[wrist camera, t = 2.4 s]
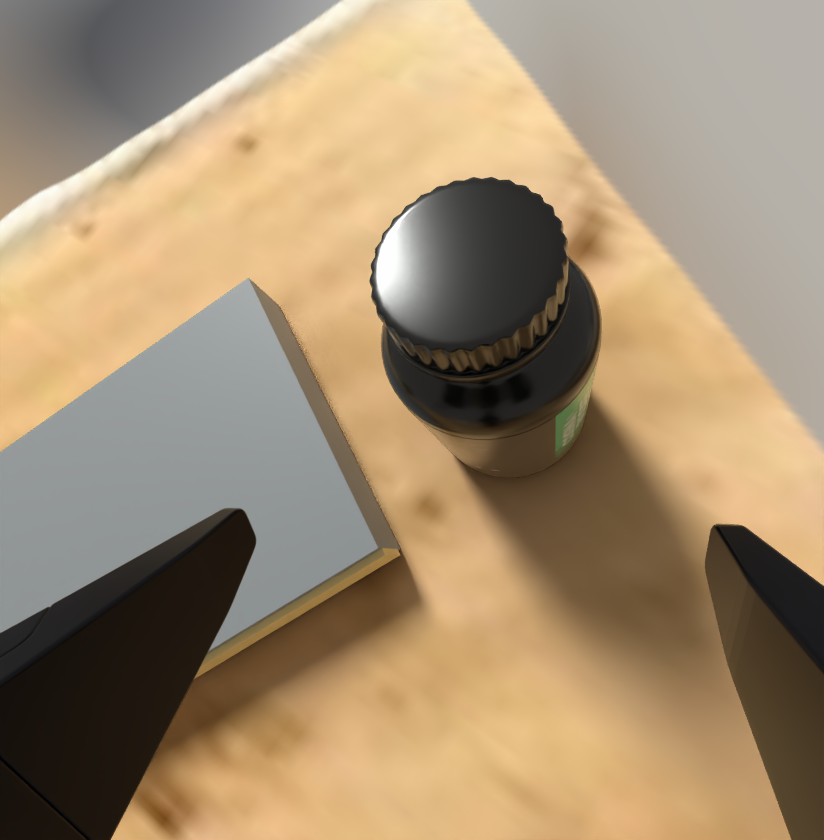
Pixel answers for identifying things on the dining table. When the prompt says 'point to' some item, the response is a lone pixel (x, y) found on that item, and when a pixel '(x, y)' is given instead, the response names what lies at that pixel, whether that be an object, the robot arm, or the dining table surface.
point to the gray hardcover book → (194, 474)
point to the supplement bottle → (488, 324)
